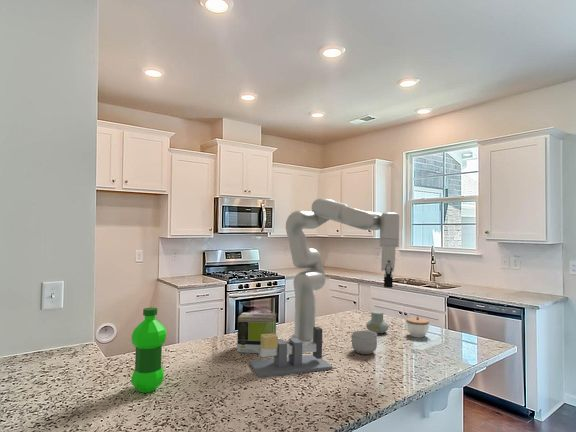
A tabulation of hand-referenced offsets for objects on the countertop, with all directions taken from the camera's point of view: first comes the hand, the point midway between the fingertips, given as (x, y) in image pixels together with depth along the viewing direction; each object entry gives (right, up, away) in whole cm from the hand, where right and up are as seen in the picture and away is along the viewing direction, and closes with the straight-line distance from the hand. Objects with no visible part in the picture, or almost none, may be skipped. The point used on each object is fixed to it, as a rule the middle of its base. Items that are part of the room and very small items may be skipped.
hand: (388, 285), depth 153 cm
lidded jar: (+24, -31, +35) cm, 53 cm away
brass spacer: (-47, -20, -14) cm, 53 cm away
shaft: (-39, -26, -11) cm, 48 cm away
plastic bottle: (-85, -27, -33) cm, 95 cm away
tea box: (-54, -29, +7) cm, 61 cm away
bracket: (-40, -28, -11) cm, 50 cm away
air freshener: (+5, -31, +40) cm, 51 cm away
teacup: (-7, -30, +9) cm, 32 cm away
